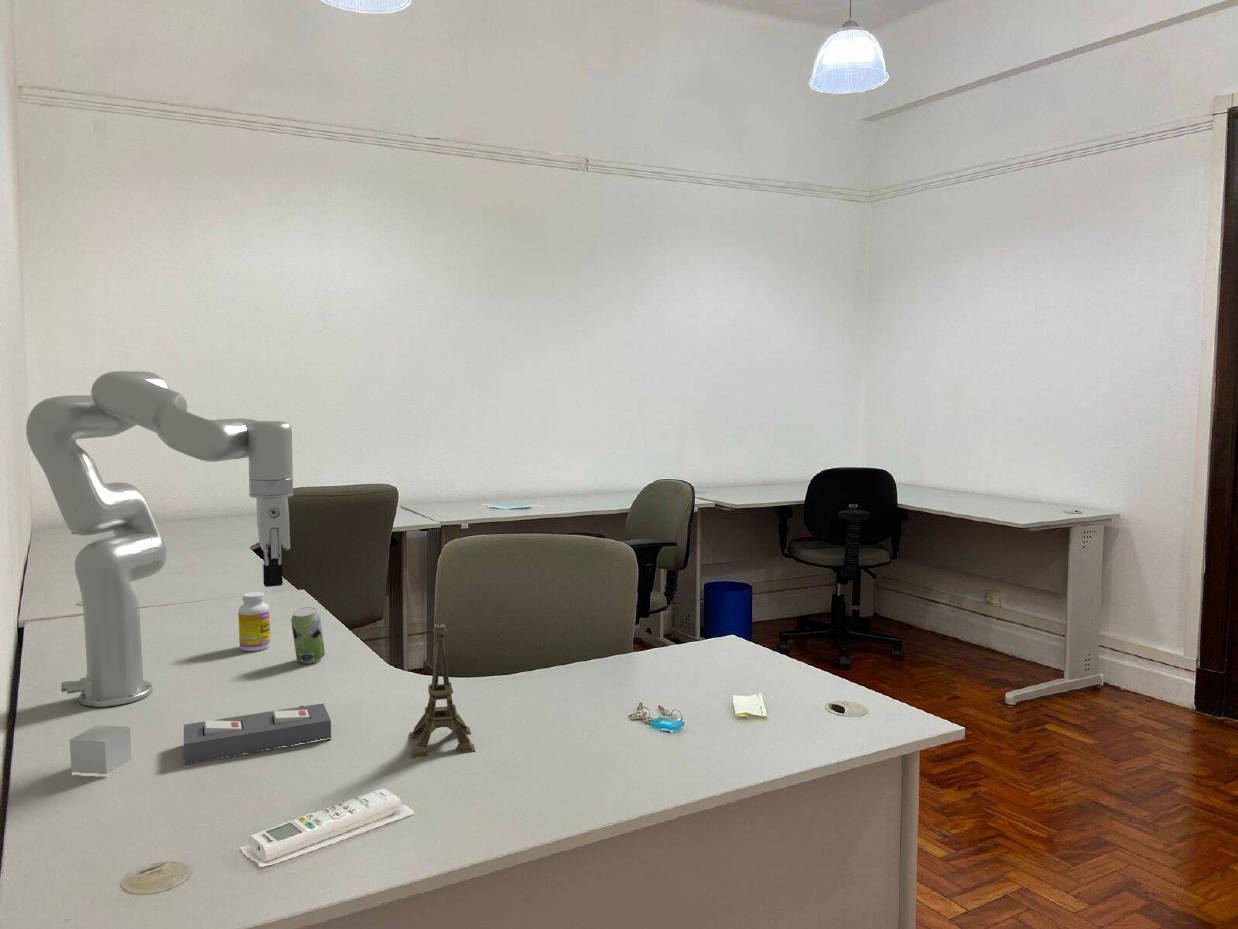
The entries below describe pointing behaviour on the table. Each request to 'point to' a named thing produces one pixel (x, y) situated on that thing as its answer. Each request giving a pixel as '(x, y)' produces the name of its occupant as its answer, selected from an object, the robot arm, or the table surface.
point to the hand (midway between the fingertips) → (273, 585)
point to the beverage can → (307, 635)
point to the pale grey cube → (100, 749)
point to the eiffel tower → (440, 715)
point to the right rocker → (290, 716)
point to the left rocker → (221, 726)
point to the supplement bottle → (254, 623)
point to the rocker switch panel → (255, 734)
